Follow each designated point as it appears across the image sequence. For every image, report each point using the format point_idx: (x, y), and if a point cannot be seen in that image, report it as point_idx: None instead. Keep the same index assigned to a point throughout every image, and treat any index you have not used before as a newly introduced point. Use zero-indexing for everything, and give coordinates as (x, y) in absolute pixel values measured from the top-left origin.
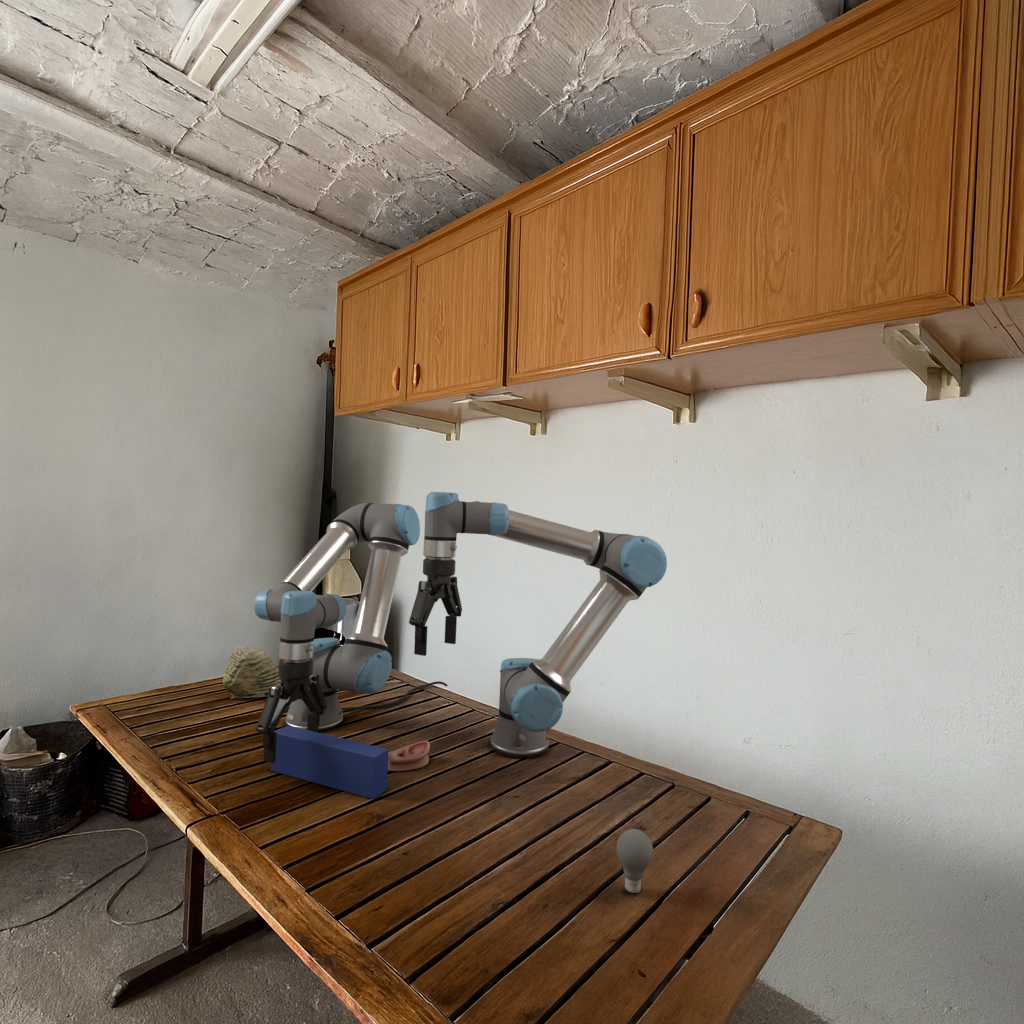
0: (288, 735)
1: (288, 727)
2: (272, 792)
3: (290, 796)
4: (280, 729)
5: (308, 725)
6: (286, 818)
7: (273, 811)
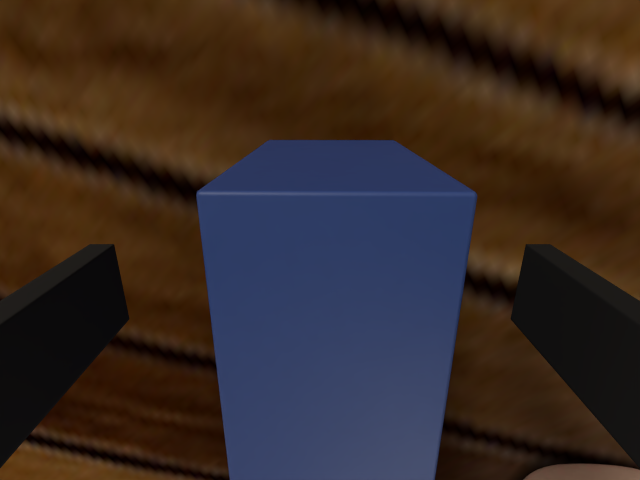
0: (233, 394)
1: (415, 251)
2: None
3: (141, 389)
4: (318, 215)
5: (614, 322)
6: (32, 467)
7: None
